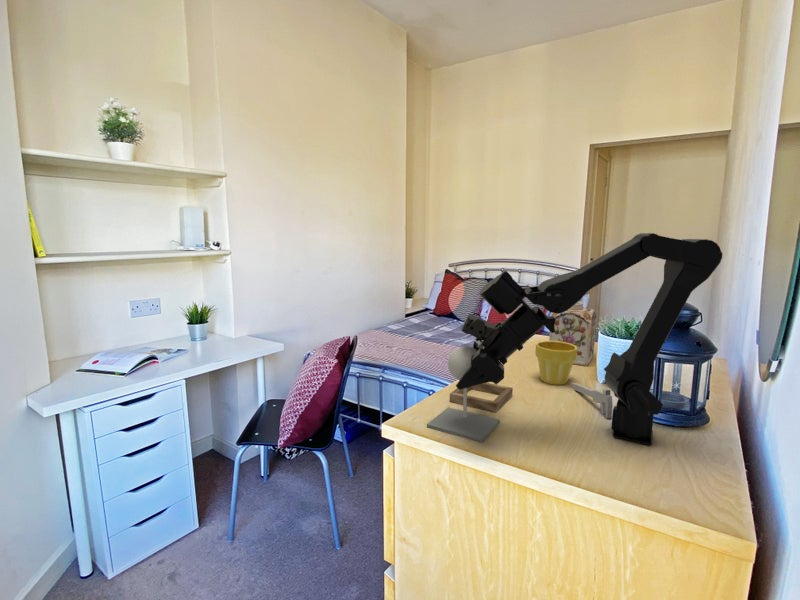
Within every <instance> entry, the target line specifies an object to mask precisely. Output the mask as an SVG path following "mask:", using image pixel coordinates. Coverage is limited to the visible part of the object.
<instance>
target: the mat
mask: <svg viewBox="0 0 800 600" xmlns="http://www.w3.org/2000/svg"><path fill="white" fill-rule="evenodd" d="M500 423H501V419H499V418H497V417H496V418H495V417H490V416H487V415H483V414H478V413H474V412H470V411H467V417H466V418H464V417H463V410H461V409H457V408H453V407H447V408H446V409H444V410H443V411H441V412H440V413H439V414H437V415H436V416H435V417H434V418H433V419H432V420H430V421H429V422H428V423H427V424H426V428H428V429H432V430H437V431H440V432H444V433H447V434H451V435H453V436H454V435H455V436H459V437H463V438H466V439H469V440H474V441H477V442H480V443H483V442H484V441H485V440H486V439H487V437H488V436H489V435H491V433H492V432H493V431H494V430H495V429H496V428H497V426H498V425H499V424H500Z"/></svg>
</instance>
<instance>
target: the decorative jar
mask: <svg viewBox="0 0 800 600" xmlns="http://www.w3.org/2000/svg"><path fill="white" fill-rule="evenodd" d="M550 316H554V317H555V319H556V321H555V332H554V333H551V332H550V331H549V336H548V338H549V339H548V341H560V342H566V343H570V344H573V345H575V346H576V347H577V357H576V360H575V361H574V362H573V364H572V365H576V366H583V367H588V366H589V364H590V363H591V361H592V360H593V358H594V354H595V344H596V343H595V341H596V321H597V314H596V311H595V309H593V308H589V307H584V303H583V302H581V301H578V302H577V303H576V304H575V305H573V306H572V307H571V308H569V309H568V310H567V311H565V312H563V313H558V314H557V313H552V312H551V314H550Z"/></svg>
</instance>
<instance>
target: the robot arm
mask: <svg viewBox="0 0 800 600" xmlns="http://www.w3.org/2000/svg"><path fill="white" fill-rule="evenodd" d="M723 254H724V253H723V252H722V250H721V247H720V245H719V244H718V243H717V242H715V241H714V240H711V239H705V238H704V239H703V238H685V239H683V238H682V239H678V238H673V237H668V236H662V235H660V234H659V235H658V234H657V233H654V232H653V233H652V232H650V233H649V232H648V233H645V232H642V233H637V234H636V235H634V236H633V237H632V238H631V239H629V240H628V241H626V242H624V243H623V244H621V245H619V246H617V247H616V248H613V249H612V250H610V251H608V252H607V253H605V254H603V255H601V256H600V257H598V258H596V259H595V260H592V261H591V262H588V263H587V264H585V265H583V266H582V267H580V268H578V269H576V270H574V271H570V272H566V273H562V274H559V275H557V276H554V277H551V278H549V279H546V280H543V281H542V282H540V283H539V284H538V285H536V286H530V287H528V286H527V287H522V286H521V285H519V283H518V282H517V281H515V279H513V276H512V275H511V274H510V273H509V272H508V271H507V270H503V271H502V272H501V273H500V274H498V275H497V276H495V277H494V278H493V279H491V280H489V281H488V282H487V283H486V284H485V285H484V286H483V288H481V290H480V292H479V293H478V294H479V296H480V297H481V298H482V299H483V300H484V301H485V302H486V303H487V304H488V305H489V306H491V308H492V309H493V310H494V311H495V312H496V313H498V314H499V315H503V314H505V315H508V317H507V318H506V319H505V320H504V321H498V322H496V323H495V324H493V323H491V322H490V321H488V320H485V319H483V318H481V317H479V316H477V315H475V314H473V313H468V315H467V317H466V319H465V321H464V323H463V325H462V327H461V332H463V333H464V334H466V335H470V336H473V337H474V338H475V340H474V341H473V343H472V344H473V345H472V348H474V349H476V350H477V352H476V353H475V354H474V355H472V356H471V367H470V368H469V369H468V370H467V372H466V373H465V374H464V375H463V377H462V378H461V379H460V380H458V382H457V383H456V384H455V387H456V389H457V388H458V389H459V390H461V389H464V388H468V387H471V386H475V385H479V384H483V383H492V384H496V385H499V383H501V381H503V380H504V379H505V367H504V366H505V365H506V364H507V363H508V358H509V357H510V356H512V355H513V354H514V353H515V352H517V351H519V352H520V351H522V350H523V349H524V345H525V344H526V343H527V341H529V340H530V339H531V338H533V336H535V335H536V334H537V333H538V332H539V331H540V330H541V329H543V328H544V327H545V328H546V329H547V330H548V332H549V333H550V332H551V333H554V332H555V321H556V319H555V317H554V316H551V315H547V314H546V313H545V312H544V311H543V310H542V309H541V308H540V307H539V306H541V307H542V308H544V309H545V310H546V311H547V312H550V313H551V314H552V313H557V314H558V313H563V312H565V311H567V310H568V309H569V308H571V307H572V306H573V305H575V304H576V303H577V302H581V300H582V299H583V297H584V296H585V295H586V294H587V293H588V292H589V291H591V290H593V288H595V287H597V286H598V285H600V284H602V283H604V282H605V281H607V280H609V279H611V278H614V277H616V275H619V274H620V273H622V272H624V271H626V270H627V269H629V268H631V267H633V266H635V265H636V264H638V263H641V262H642V261H643V260H646V259H647V258H649V257H651V258H656V259H660V260H664V265H663V281H662V283H661V286H660V288H659V290H658V291H657V294H656V295H655V298H654V299H653V302H652V304H651V305H650V307H649V309H648V311H647V313H646V315H645V317H644V319H643V321H642V322H641V325H640V326H639V328H638V330H637V332H636V334H635V335H634V338H633V340H632V341H631V344H630V346H629V347H628V348H627V350H625V351H624V352H623V353H621V354H618V353H616V352H613V353H612V355H611V357H610V360H609V362H608V364H607V366H605V367H604V368H603V370H604V372H605V373H604V382H605V383H606V385H607V387H608V388H609V390H610V391H612V392H613V395H614V397H616V398H617V402H616V405H615V406H613V407H612V418H611V427H610V428H611V431H613V432H612V437H613V438H617V439H620V440H625V441H630V442H634V443H639V444H643V445H646V446H647V445H648V446H652V445H653V433H654V432H653V431H654V430H653V426H654V425H653V424H654V416H655V415H659V414H660V412H661V410H662V408H663V403H662V402H661V401H660V400H659V399H658V398H657V397H656V396H655V395H654V394H653V393H652V391H651V387H652V385H653V382H654V379H655V361H656V359H657V357H658V356H659V354H660V353H661V352H660V351H661V350H662V348H663V346H664V345H665V342H666V340H667V338H668V336H670V333H671V331H672V329H673V328H674V326H675V324H676V322H677V320H678V319H679V316H680V314H681V312H682V311H683V308H684V307H685V305H686V303H687V302H688V299H689V297H690V296H691V293H693V291H694V290H696V288H698V287H699V286H701V285H702V284H703V283H704V282H706V281H707V280H708V279H709V278H710V276H712V274H713V272H715V270H716V269H717V267H718V266H719V265H720V264H721V261H722V260H723ZM524 299H527V301H529V302H530V303H531V304H533V305H535V306H534V307H532V306H531V305H530V304H528V303H527V302H526V301H525V300H524ZM536 305H537V306H536Z"/></svg>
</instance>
